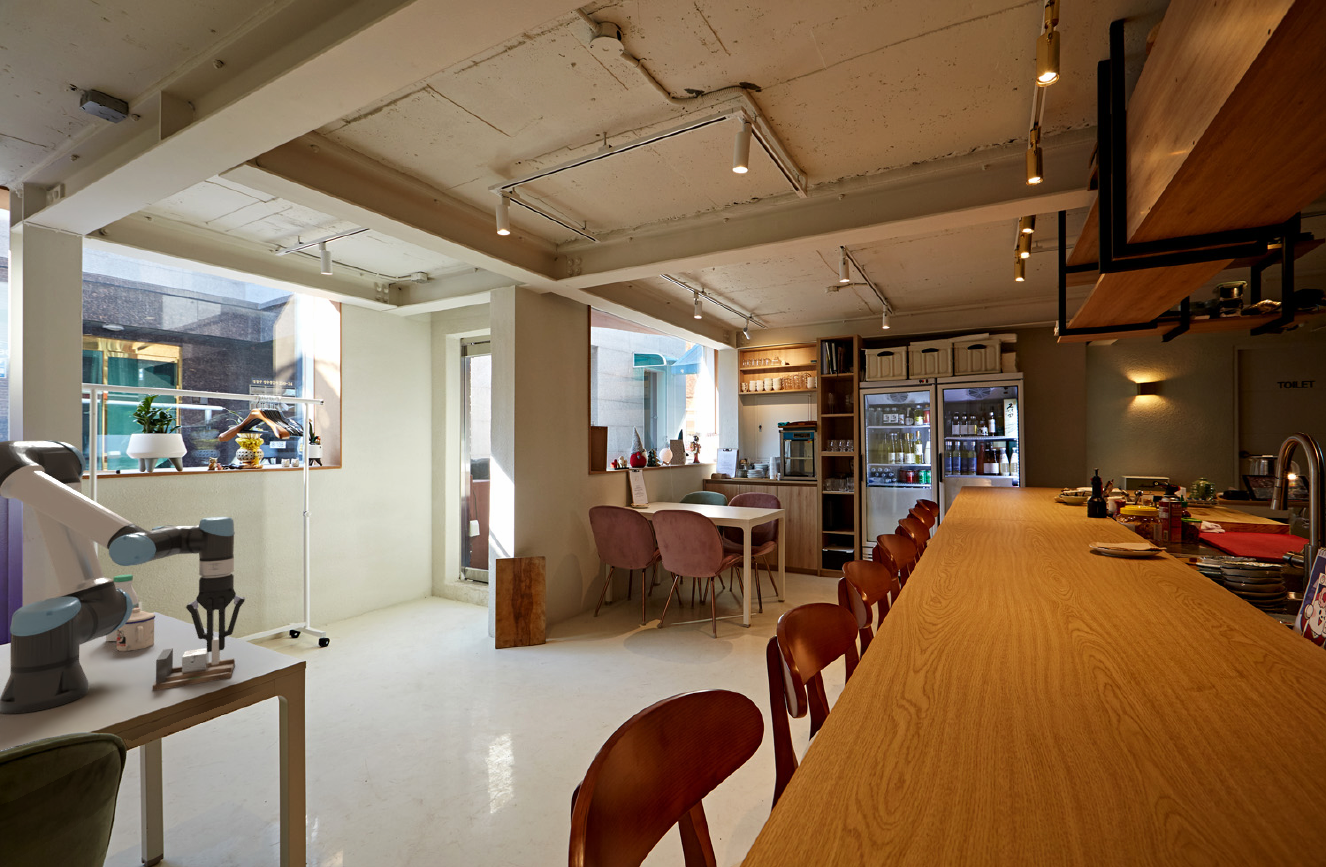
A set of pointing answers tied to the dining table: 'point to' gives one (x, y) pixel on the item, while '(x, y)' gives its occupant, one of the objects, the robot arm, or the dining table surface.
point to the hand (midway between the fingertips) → (215, 662)
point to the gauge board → (174, 676)
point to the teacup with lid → (136, 631)
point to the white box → (195, 661)
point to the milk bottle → (126, 585)
